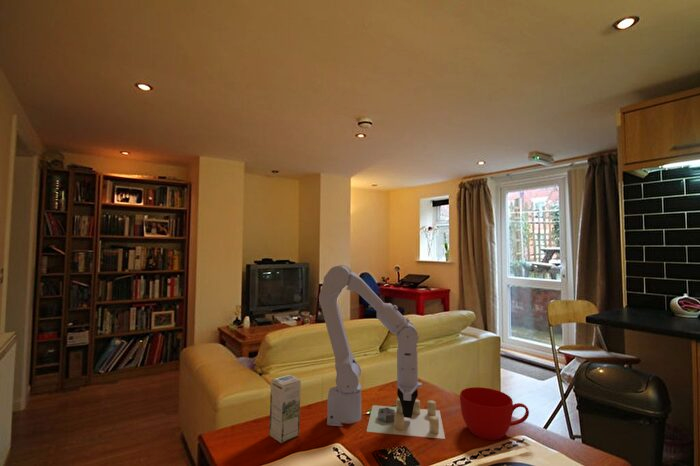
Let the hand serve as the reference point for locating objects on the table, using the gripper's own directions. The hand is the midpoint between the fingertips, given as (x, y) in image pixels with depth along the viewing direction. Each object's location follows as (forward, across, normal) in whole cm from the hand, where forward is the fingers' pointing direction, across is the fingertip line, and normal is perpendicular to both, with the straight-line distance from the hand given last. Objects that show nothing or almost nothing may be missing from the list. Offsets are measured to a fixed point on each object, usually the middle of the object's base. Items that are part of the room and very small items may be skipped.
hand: (407, 416), depth 96 cm
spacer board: (+2, 0, +1) cm, 2 cm away
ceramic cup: (+2, -2, -22) cm, 23 cm away
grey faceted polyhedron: (+1, 0, +6) cm, 6 cm away
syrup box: (+2, -12, +32) cm, 34 cm away
